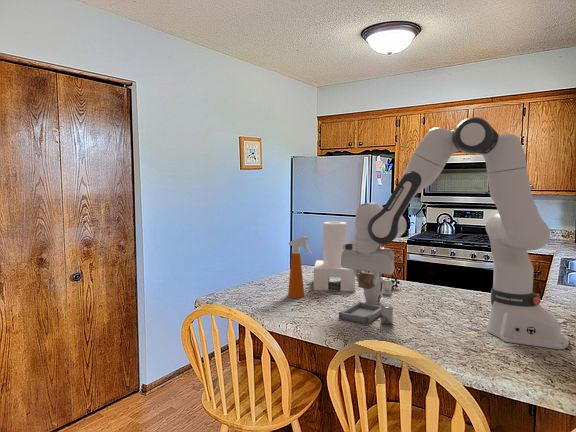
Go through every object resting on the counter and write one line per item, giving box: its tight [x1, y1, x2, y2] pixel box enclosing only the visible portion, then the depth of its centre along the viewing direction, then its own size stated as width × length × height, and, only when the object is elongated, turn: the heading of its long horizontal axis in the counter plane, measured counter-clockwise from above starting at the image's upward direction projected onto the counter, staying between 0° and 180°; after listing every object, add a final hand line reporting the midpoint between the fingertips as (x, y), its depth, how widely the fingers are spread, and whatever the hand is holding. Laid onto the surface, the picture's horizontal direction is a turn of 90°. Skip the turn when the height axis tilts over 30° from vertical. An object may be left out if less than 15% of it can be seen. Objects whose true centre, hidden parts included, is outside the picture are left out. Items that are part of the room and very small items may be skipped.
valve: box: [382, 274, 401, 296], centre depth 177 cm, size 7×7×12 cm
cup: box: [363, 276, 384, 305], centre depth 161 cm, size 8×8×10 cm
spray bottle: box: [287, 235, 313, 299], centre depth 169 cm, size 7×11×26 cm, turn 71°
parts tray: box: [338, 301, 382, 326], centre depth 145 cm, size 11×16×2 cm
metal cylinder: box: [380, 304, 394, 327], centre depth 137 cm, size 4×4×6 cm
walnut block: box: [357, 271, 376, 289], centre depth 147 cm, size 4×4×5 cm
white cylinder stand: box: [313, 221, 356, 292], centre depth 187 cm, size 19×19×30 cm
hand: (366, 282), depth 147 cm, fingers closed on walnut block, 4 cm apart
